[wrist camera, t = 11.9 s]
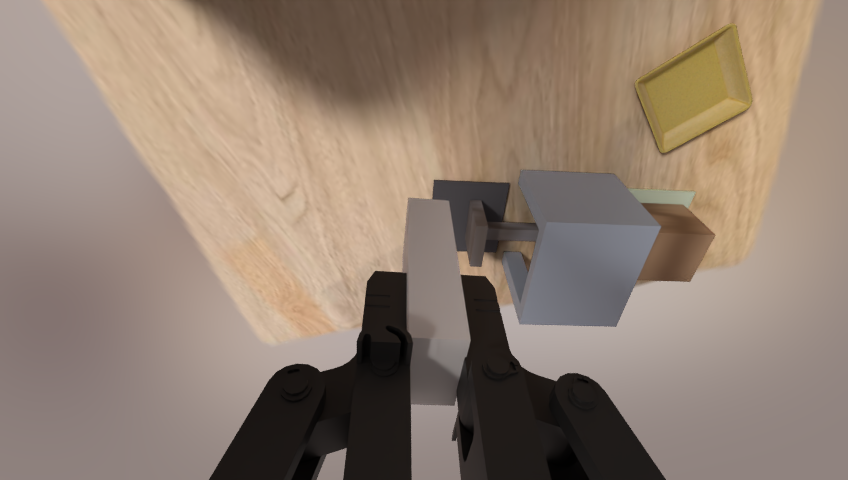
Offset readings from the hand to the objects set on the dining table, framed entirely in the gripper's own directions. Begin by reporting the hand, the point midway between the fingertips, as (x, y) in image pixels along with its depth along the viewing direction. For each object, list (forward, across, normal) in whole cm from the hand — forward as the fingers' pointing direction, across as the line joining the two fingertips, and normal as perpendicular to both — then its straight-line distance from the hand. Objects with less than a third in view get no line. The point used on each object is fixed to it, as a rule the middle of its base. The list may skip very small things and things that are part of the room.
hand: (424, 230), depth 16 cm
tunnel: (+26, +17, -16) cm, 35 cm away
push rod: (+26, +19, -15) cm, 36 cm away
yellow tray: (+27, +26, 0) cm, 37 cm away
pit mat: (+26, +7, -16) cm, 32 cm away
